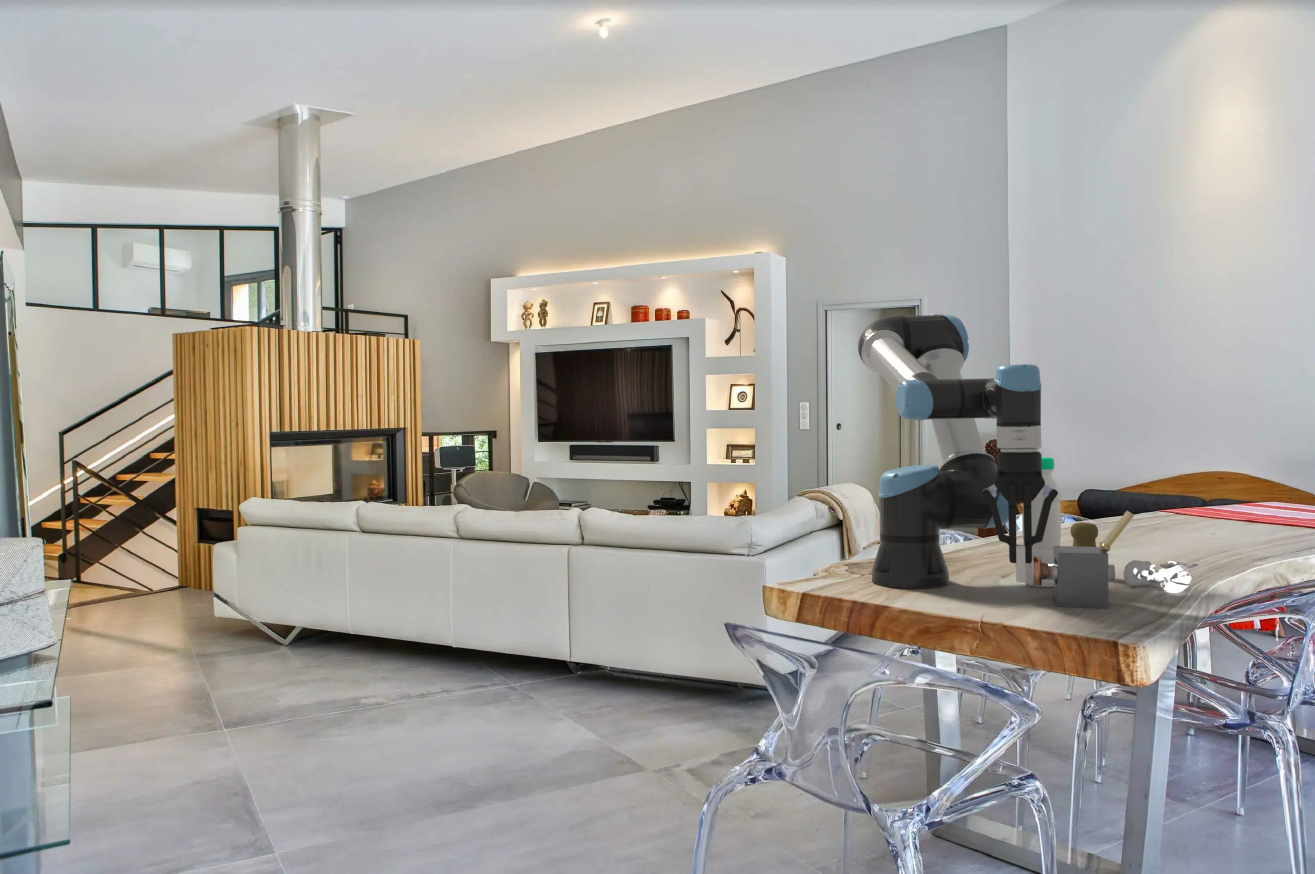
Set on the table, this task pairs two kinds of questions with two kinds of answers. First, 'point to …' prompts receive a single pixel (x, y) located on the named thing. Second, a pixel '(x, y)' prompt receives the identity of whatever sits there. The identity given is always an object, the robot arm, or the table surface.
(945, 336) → the robot arm
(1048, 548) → the water bottle
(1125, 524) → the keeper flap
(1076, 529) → the cork
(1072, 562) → the block
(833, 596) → the table surface
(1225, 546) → the table surface
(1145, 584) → the figurine
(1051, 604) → the table surface
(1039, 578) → the pin
